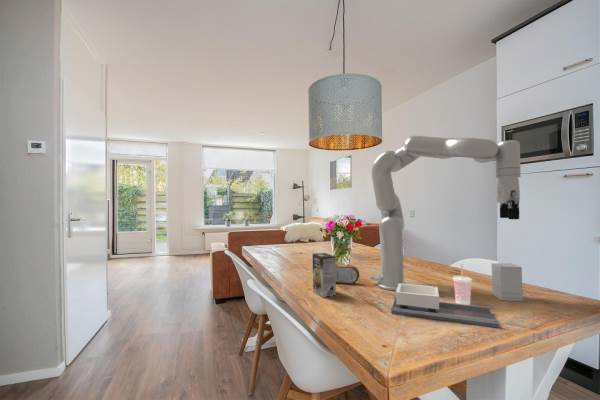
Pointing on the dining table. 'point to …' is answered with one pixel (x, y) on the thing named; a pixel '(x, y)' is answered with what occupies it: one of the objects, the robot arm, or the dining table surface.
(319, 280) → the coffee box
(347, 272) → the tin
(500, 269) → the supplement box
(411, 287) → the cart
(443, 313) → the track
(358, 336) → the dining table surface
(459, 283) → the beverage cup
